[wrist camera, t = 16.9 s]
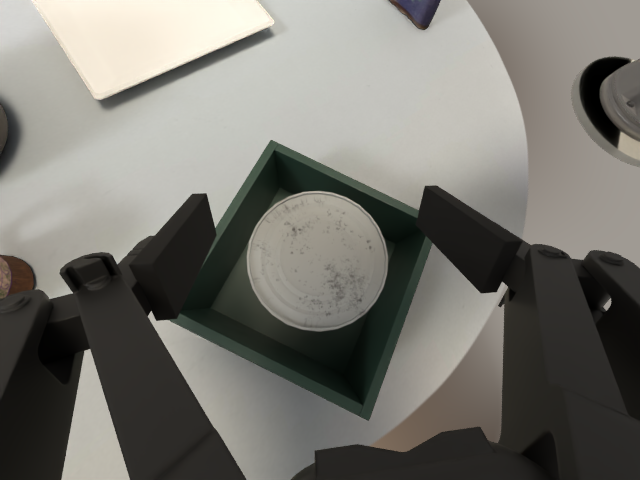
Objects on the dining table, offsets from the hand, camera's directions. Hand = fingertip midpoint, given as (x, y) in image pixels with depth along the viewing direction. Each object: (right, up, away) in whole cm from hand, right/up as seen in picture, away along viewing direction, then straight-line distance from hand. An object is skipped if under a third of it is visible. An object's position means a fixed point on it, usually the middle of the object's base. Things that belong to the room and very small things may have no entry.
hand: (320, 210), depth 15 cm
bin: (-1, -6, +14) cm, 15 cm away
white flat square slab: (-25, +32, +21) cm, 46 cm away
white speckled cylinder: (-1, -6, +13) cm, 15 cm away
